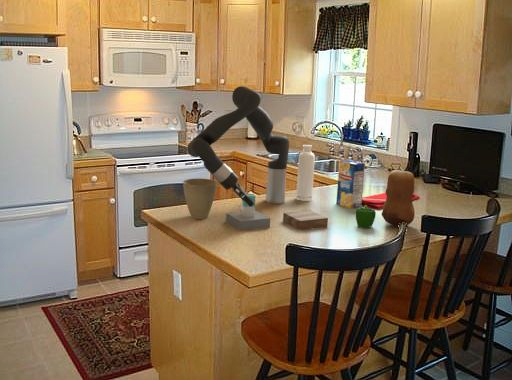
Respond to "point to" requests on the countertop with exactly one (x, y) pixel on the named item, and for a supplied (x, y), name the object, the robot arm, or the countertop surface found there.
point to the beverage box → (350, 183)
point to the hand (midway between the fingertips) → (251, 202)
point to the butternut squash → (399, 198)
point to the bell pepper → (365, 217)
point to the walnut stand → (305, 219)
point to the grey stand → (247, 221)
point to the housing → (248, 207)
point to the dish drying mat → (378, 201)
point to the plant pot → (199, 196)
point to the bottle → (305, 174)
